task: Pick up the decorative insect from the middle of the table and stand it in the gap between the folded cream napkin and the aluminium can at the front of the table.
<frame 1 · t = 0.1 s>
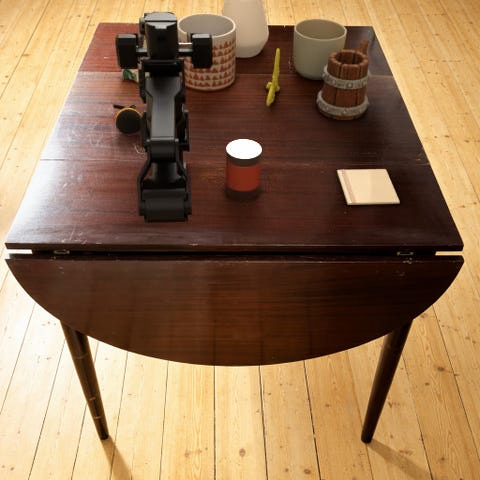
hand: (165, 34, 126), 17 cm above the table, tool horizontal, fingers open, 9 cm apart
can: (242, 190, 118), on the table
white rounded pot: (242, 50, 160), on the table
juice carton: (157, 68, 152), on the table
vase: (206, 79, 148), on the table
mug: (343, 106, 141), on the table
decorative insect: (268, 101, 142), on the table
character figurine: (132, 127, 132), on the table
napkin: (367, 187, 119), on the table
planter: (314, 74, 152), on the table
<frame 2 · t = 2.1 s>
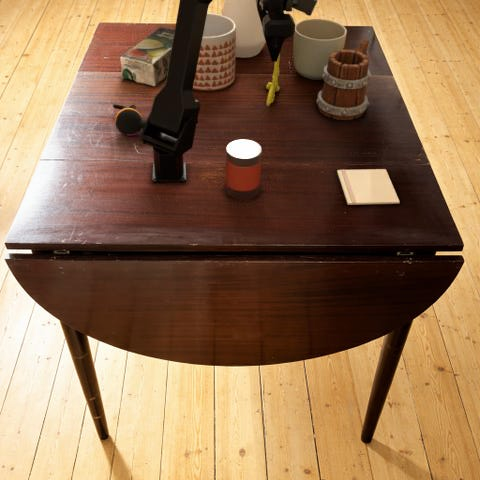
hand: (271, 51, 134), 11 cm above the table, tool pointing down, fingers open, 9 cm apart
nothing on the table moved.
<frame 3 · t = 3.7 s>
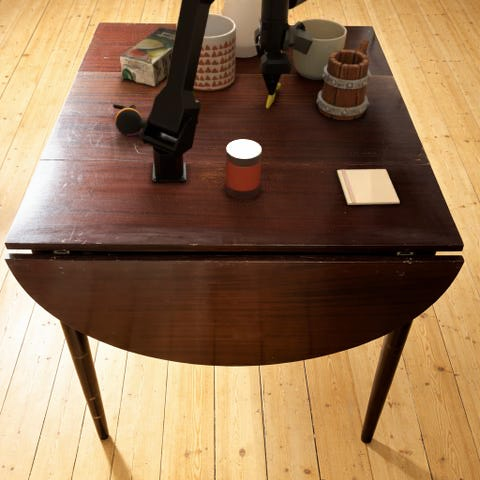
hand: (269, 88, 139), 3 cm above the table, tool pointing down, fingers closed on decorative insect, 7 cm apart
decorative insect: (268, 100, 142), on the table, touching gripper
everything else where it was.
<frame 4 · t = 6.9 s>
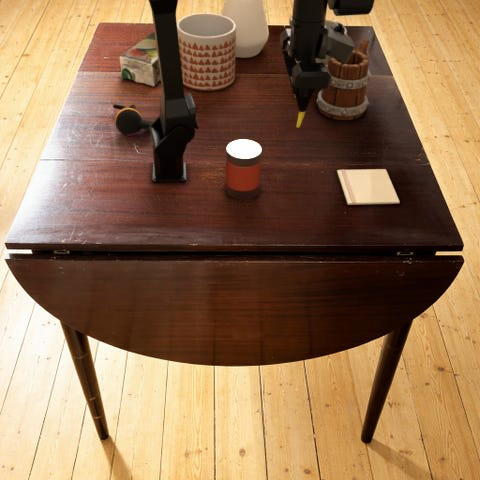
hand: (299, 102, 115), 13 cm above the table, tool pointing down, fingers closed on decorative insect, 6 cm apart
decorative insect: (297, 115, 119), point 9 cm above the table, touching gripper
everything else where it was.
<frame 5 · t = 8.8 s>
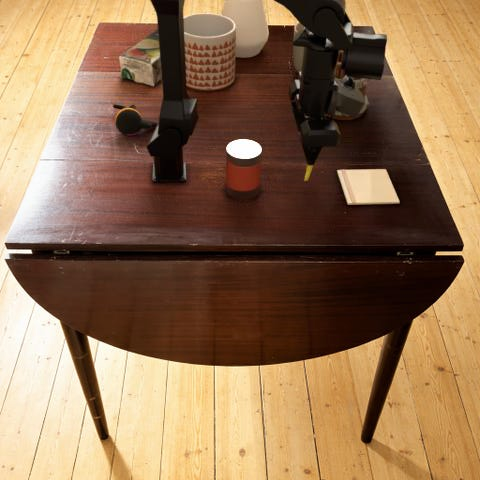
hand: (307, 154, 113), 8 cm above the table, tool pointing down, fingers closed on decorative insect, 6 cm apart
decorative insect: (306, 166, 116), point 4 cm above the table, touching gripper
everything else where it was.
when the fingers open (4 cm above the table, at t = 10.3 s): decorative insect stays where it is, on the table.
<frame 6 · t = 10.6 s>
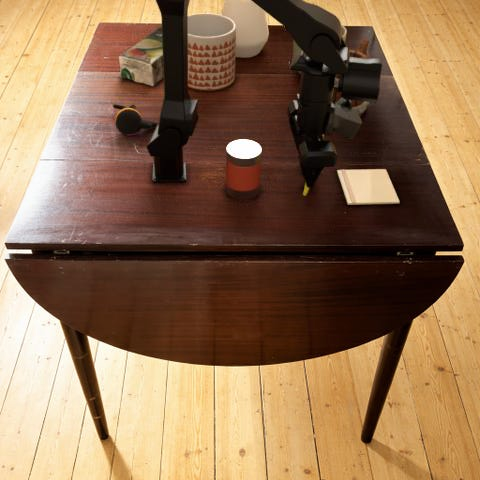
hand: (306, 172, 116), 4 cm above the table, tool pointing down, fingers open, 9 cm apart
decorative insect: (303, 185, 119), on the table
everything else where it was.
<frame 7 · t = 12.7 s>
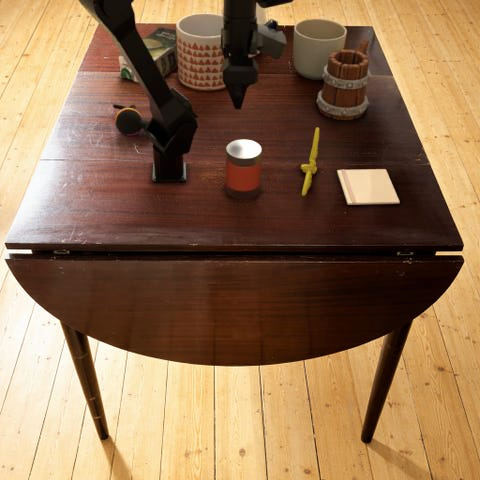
hand: (237, 97, 118), 12 cm above the table, tool pointing down, fingers open, 9 cm apart
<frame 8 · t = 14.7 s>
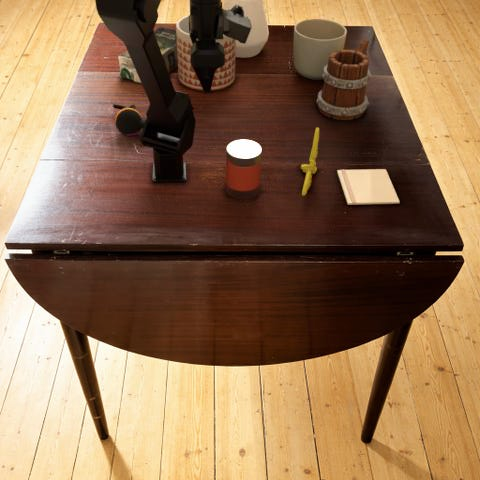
hand: (206, 81, 122), 12 cm above the table, tool pointing down, fingers open, 9 cm apart
nothing on the table moved.
at the end: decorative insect inside the target area on the table beside the can (1.3 cm from its centre), on the table; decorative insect inside the target area on the table beside the napkin (1.1 cm from its centre), on the table; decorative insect tilted 1° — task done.
